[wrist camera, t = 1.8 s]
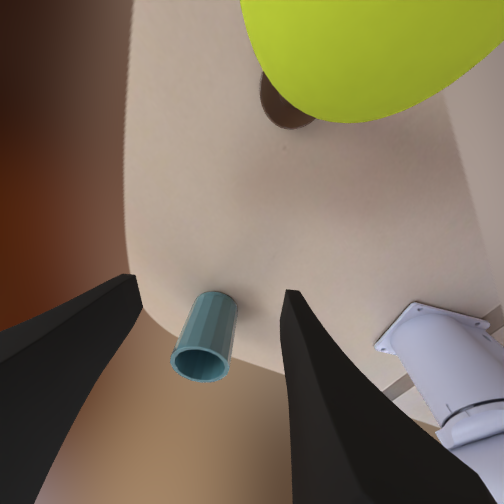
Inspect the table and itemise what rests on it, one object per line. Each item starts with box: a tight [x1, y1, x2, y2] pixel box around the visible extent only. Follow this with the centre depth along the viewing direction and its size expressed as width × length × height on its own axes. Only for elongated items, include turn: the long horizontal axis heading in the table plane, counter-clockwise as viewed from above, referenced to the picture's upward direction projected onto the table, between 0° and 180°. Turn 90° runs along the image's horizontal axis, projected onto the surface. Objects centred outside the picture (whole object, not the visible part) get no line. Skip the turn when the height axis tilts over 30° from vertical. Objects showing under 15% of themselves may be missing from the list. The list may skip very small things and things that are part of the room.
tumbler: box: [170, 292, 238, 382], centre depth 21 cm, size 5×5×7 cm
